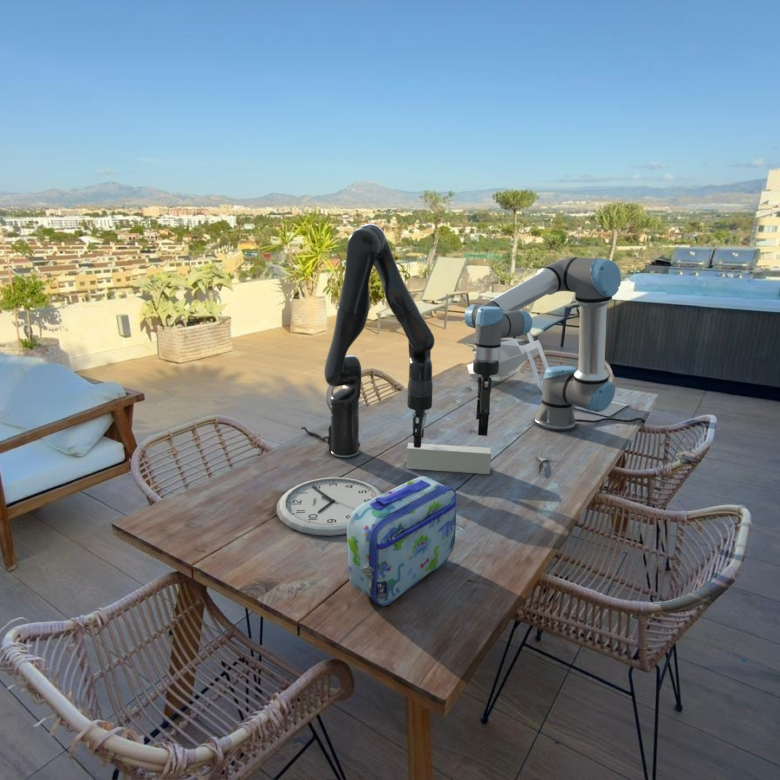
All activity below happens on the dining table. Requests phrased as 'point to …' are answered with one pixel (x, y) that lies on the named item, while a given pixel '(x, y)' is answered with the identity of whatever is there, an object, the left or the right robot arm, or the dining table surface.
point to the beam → (449, 458)
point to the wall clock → (324, 504)
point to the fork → (542, 460)
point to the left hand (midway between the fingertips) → (418, 442)
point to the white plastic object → (517, 358)
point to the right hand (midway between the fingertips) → (481, 426)
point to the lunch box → (400, 538)
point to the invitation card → (608, 409)
